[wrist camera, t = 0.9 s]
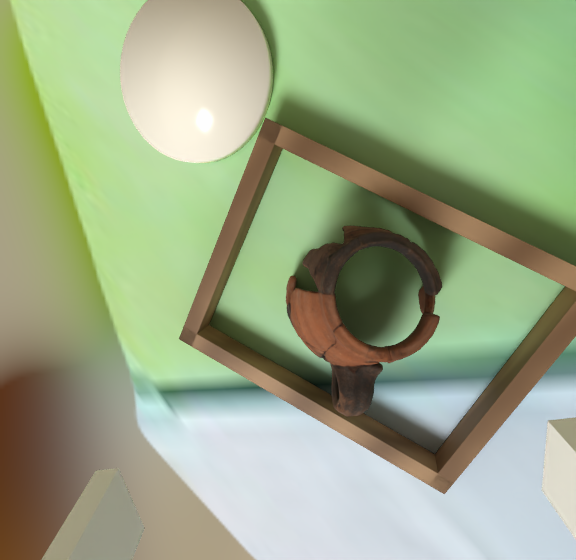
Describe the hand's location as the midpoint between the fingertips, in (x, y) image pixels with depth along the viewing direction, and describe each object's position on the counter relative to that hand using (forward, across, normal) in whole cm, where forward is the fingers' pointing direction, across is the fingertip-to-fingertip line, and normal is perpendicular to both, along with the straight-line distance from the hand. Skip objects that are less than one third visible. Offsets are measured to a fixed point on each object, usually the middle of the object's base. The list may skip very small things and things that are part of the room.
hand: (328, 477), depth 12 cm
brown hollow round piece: (+16, -3, +2) cm, 17 cm away
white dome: (+20, +6, -15) cm, 26 cm away
